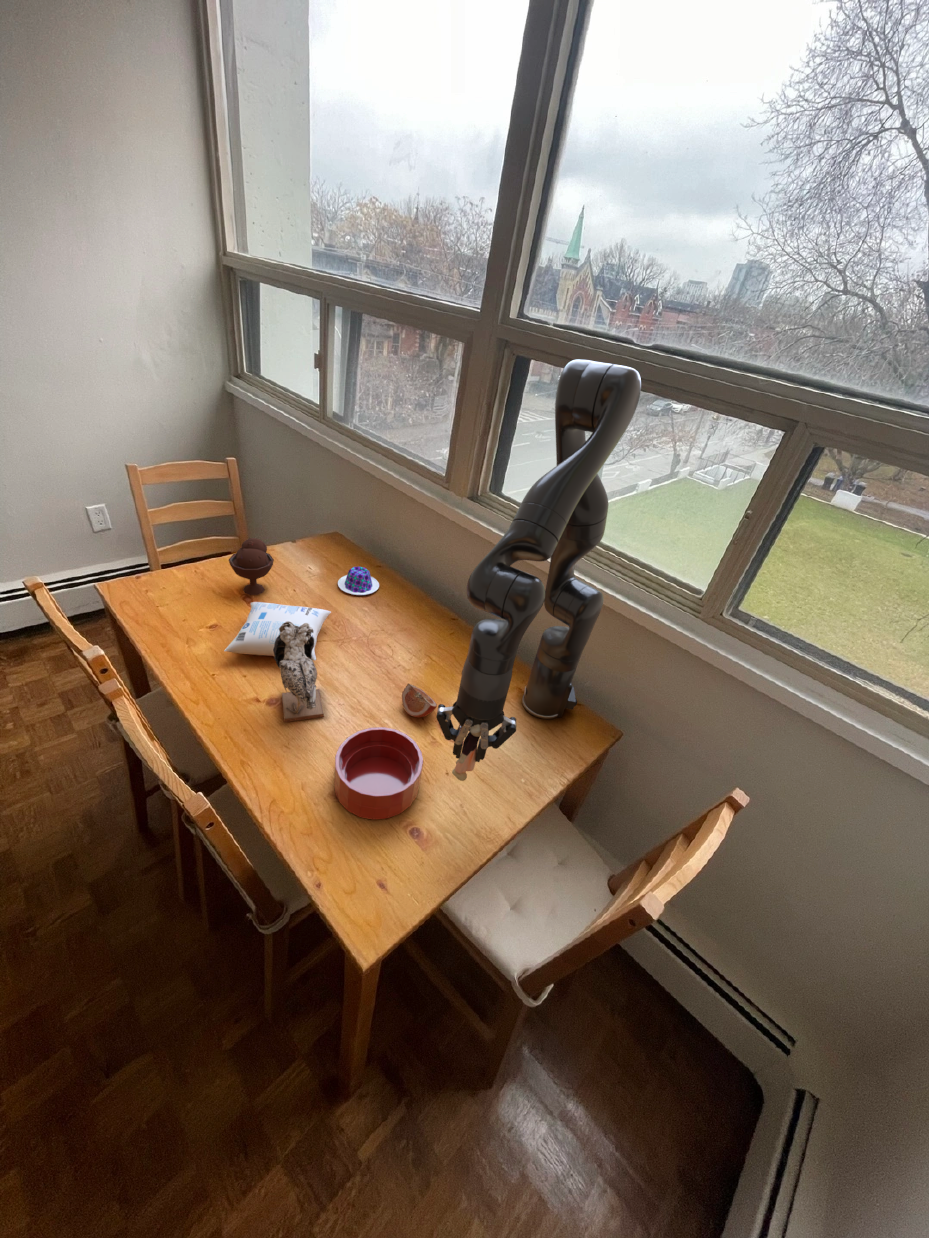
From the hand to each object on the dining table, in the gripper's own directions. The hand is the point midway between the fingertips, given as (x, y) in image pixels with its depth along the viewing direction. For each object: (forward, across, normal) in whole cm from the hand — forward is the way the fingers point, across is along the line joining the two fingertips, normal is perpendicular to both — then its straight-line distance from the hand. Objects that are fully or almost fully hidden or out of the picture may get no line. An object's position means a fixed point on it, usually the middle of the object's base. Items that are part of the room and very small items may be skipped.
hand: (468, 756), depth 88 cm
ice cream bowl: (+12, -63, +55) cm, 85 cm away
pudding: (+12, -37, +67) cm, 77 cm away
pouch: (+12, -47, +35) cm, 60 cm away
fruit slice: (+12, -11, +21) cm, 27 cm away
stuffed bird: (+12, -35, +16) cm, 41 cm away
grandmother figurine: (+3, 0, 0) cm, 3 cm away
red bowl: (+12, -15, 0) cm, 19 cm away
